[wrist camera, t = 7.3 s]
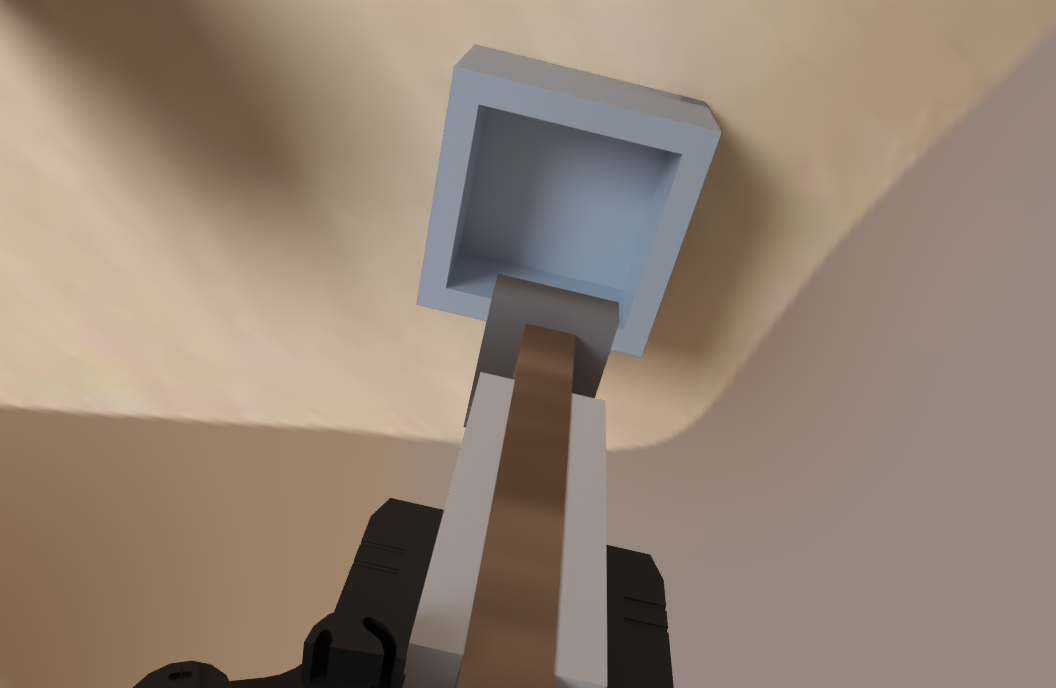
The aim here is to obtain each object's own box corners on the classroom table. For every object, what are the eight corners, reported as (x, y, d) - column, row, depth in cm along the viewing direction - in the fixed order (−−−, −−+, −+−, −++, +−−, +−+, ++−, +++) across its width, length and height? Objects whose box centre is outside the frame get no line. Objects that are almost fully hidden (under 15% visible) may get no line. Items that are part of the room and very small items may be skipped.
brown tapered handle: (498, 273, 18) (317, 896, 6) (618, 301, 18) (647, 964, 7) (469, 404, 20) (295, 1049, 8) (577, 429, 20) (546, 1099, 9)
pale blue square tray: (474, 44, 27) (454, 65, 24) (705, 101, 28) (721, 132, 24) (438, 257, 32) (416, 304, 28) (636, 304, 32) (641, 357, 29)
